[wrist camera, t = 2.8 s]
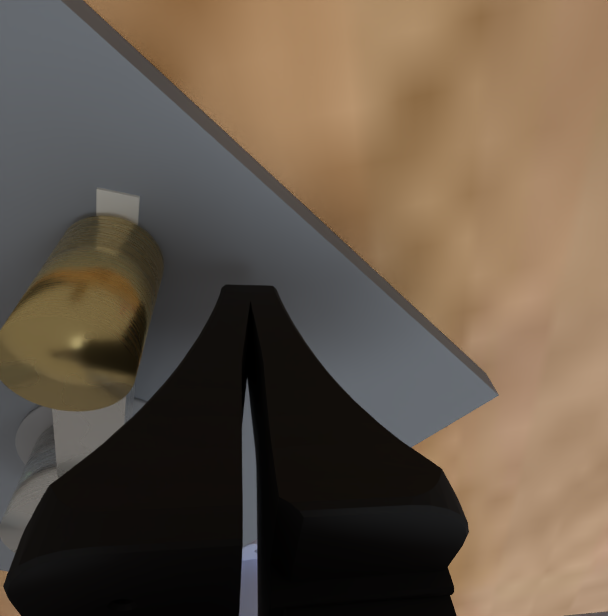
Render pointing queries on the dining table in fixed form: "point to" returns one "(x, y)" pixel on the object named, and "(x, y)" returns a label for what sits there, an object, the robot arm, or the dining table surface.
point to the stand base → (189, 234)
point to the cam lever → (78, 348)
